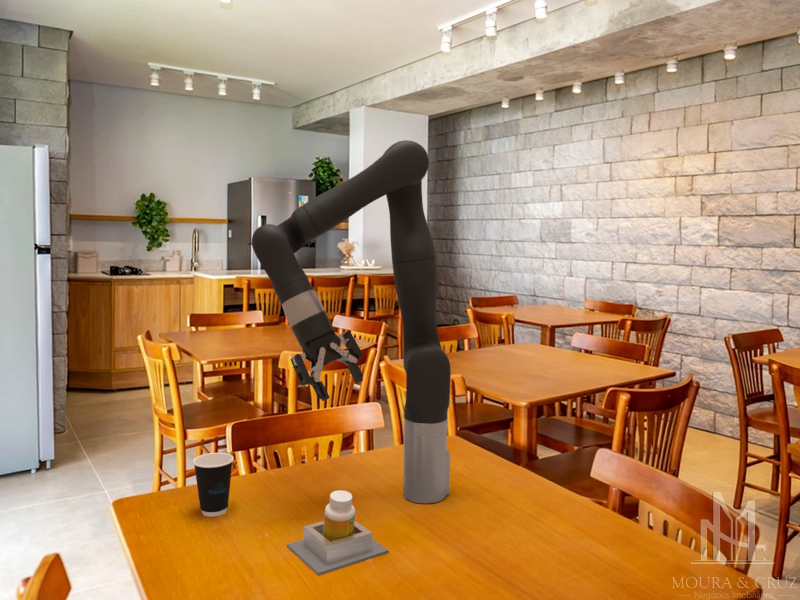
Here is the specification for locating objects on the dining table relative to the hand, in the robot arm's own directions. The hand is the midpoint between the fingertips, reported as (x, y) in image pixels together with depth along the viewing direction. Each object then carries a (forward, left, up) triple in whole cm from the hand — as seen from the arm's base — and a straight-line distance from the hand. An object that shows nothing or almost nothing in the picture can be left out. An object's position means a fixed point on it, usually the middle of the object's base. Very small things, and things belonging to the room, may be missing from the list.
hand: (343, 390), depth 131 cm
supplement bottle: (+9, +12, -25) cm, 29 cm away
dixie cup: (+21, -16, -26) cm, 36 cm away
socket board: (+9, +12, -26) cm, 30 cm away
